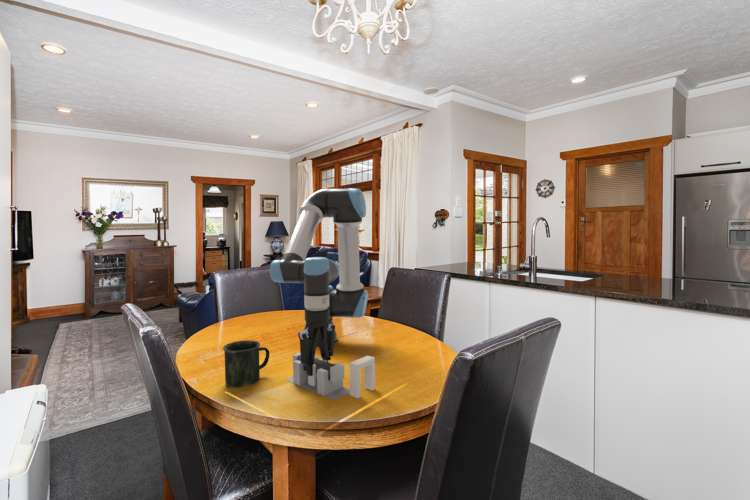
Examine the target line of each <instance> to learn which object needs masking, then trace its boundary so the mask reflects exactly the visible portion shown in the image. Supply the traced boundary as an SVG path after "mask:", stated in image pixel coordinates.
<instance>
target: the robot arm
mask: <svg viewBox="0 0 750 500" xmlns="http://www.w3.org/2000/svg"><path fill="white" fill-rule="evenodd" d="M298 214H299V217H298V220H297V222H296V224H295V227H294V229H293V232H292V235H291V237H290V239H289V241H288V244H287V246H286V247H285V250H284V253H283V255H282V258H281V259H275V260H273V261H271V263H270V267H269V276H270V279H271V281H273V282H274V283H282V284H304V285H303V288H304V290H303V291H304V295H303V296H304V299H303V302H304V308H305V309H304V320H305V322H304V323H305V324H304V328H303V331H301V332H300V331H299V332H298V333H297V336H298V338H299V348H300V350H299V351H300V352H299V353H300V355H301V364H304V365H307V375H308V384H309V385H311V386H314V387H315V386H316V365H315V364H314V358H315V356H316V350H317V346H319V351H320V356H321V358H318V359H319V360H322V361H325V362H328V363H329V361H331V360H332V357H333V356H334V351H335V350H334V348H335V347H334V345H335V342H337V340H338V333H337V331H336V325H335V324H334V319H333V318H352V319H354V318H363V316H365V313H366V310H367V306H368V305H367V304H368V299H369V298H368V297H369V296H368V295H369V291H368V290H366V289H365V288H364V287H365V285H364V284H363V283H362V282H361V273H360V272H361V270H360V269H361V268H360V267H361V266H360V239H359V238H360V237H359V236H360V234H359V233H360V231H359V225H360V224H361V223H362V222H363V219H364V218H366V214H367V207H366V199H365V196H364V193H363V191H362V190H361V189H360V188H355V187H354V188H353V187H345V188H343V187H342V188H322V189H321V188H320V189H319V190H317V191H314V192H313V193H312V194H311V195H309V196H308V197H307V198H306V199H305V200H304V201H303V203H302V204H301V206H300V207H299V210H298ZM324 218H332V220H333V222H332V223H333V224H335V225H336V226H337V227H336V228H337V247H338V248H337V249H338V250H337V251H338V252H337V254H338V264H337V262H336V261H334V260H332V259H329V258H327V257H325V256H311V257H307V256H308V252H309V250H310V247H311V245H312V242H313V238H314V236H315V233H316V231H317V228H318V225H319V224H320V223H321V222H322V221H323V219H324ZM338 277H339V282H338V284H336V287H335V289H334V287H333V286H332V285H330V284H331V283H333V282H334V281H336V279H337V278H338Z"/></svg>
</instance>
